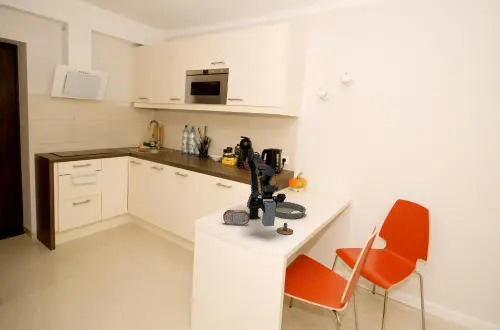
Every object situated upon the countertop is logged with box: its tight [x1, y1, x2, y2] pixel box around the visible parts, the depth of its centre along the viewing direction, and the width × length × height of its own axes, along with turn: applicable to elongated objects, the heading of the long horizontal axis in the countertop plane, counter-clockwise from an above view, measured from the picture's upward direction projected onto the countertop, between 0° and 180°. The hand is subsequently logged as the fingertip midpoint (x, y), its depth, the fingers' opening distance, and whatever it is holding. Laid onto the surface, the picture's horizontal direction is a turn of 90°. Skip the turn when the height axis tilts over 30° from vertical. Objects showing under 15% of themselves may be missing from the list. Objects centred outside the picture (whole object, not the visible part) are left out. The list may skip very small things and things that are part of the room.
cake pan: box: [275, 201, 307, 220], centre depth 190 cm, size 25×25×4 cm
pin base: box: [276, 221, 294, 236], centre depth 158 cm, size 9×9×5 cm
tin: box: [222, 209, 251, 226], centre depth 163 cm, size 15×3×8 cm, turn 92°
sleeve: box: [261, 200, 276, 227], centre depth 148 cm, size 5×5×12 cm
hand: (269, 212), depth 146 cm, fingers closed on sleeve, 5 cm apart
